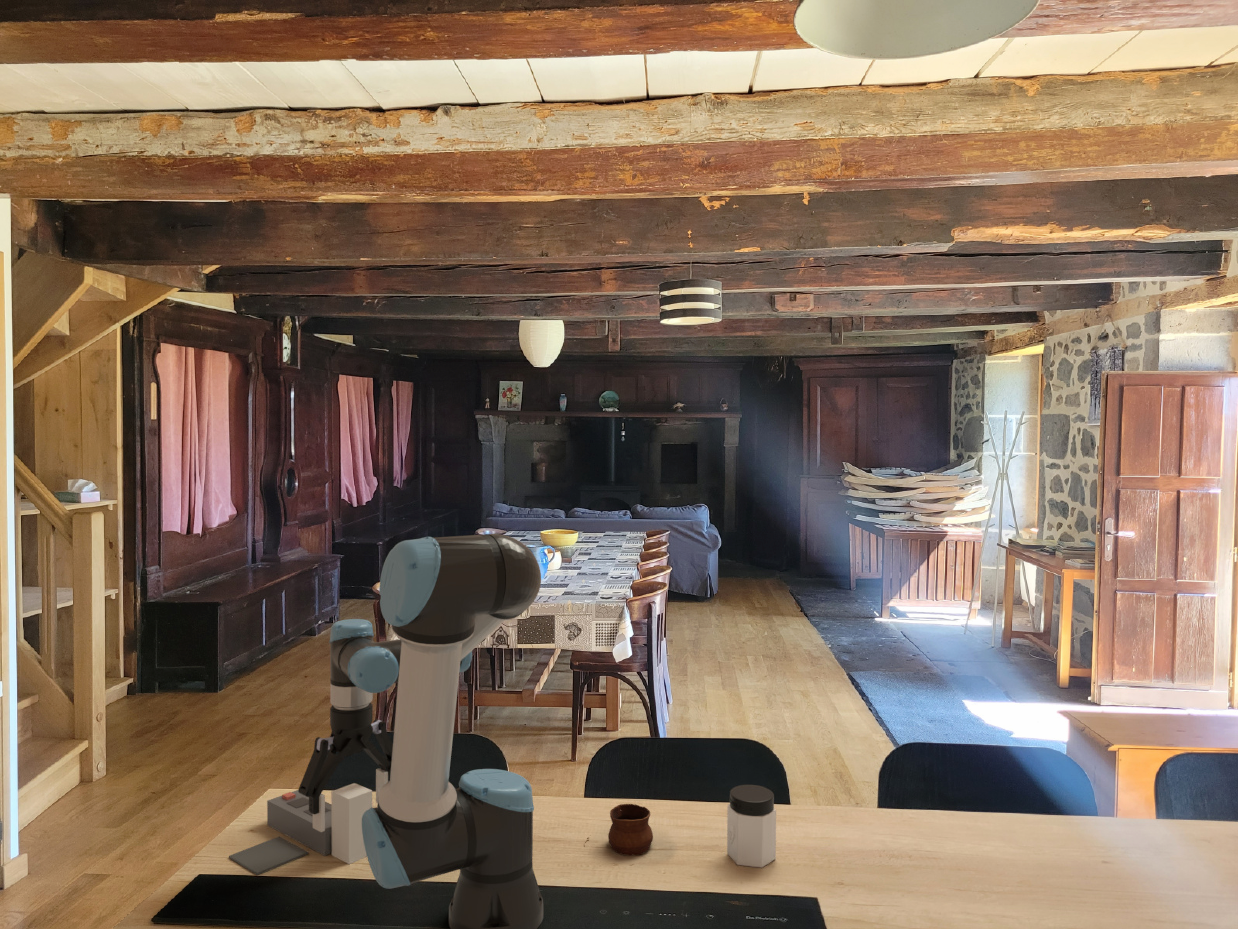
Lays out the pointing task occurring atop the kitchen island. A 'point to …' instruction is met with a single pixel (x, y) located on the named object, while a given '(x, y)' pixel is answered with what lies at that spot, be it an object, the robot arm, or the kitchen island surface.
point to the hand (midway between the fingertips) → (351, 816)
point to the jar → (751, 826)
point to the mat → (268, 855)
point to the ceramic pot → (630, 829)
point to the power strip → (299, 821)
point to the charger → (349, 822)
